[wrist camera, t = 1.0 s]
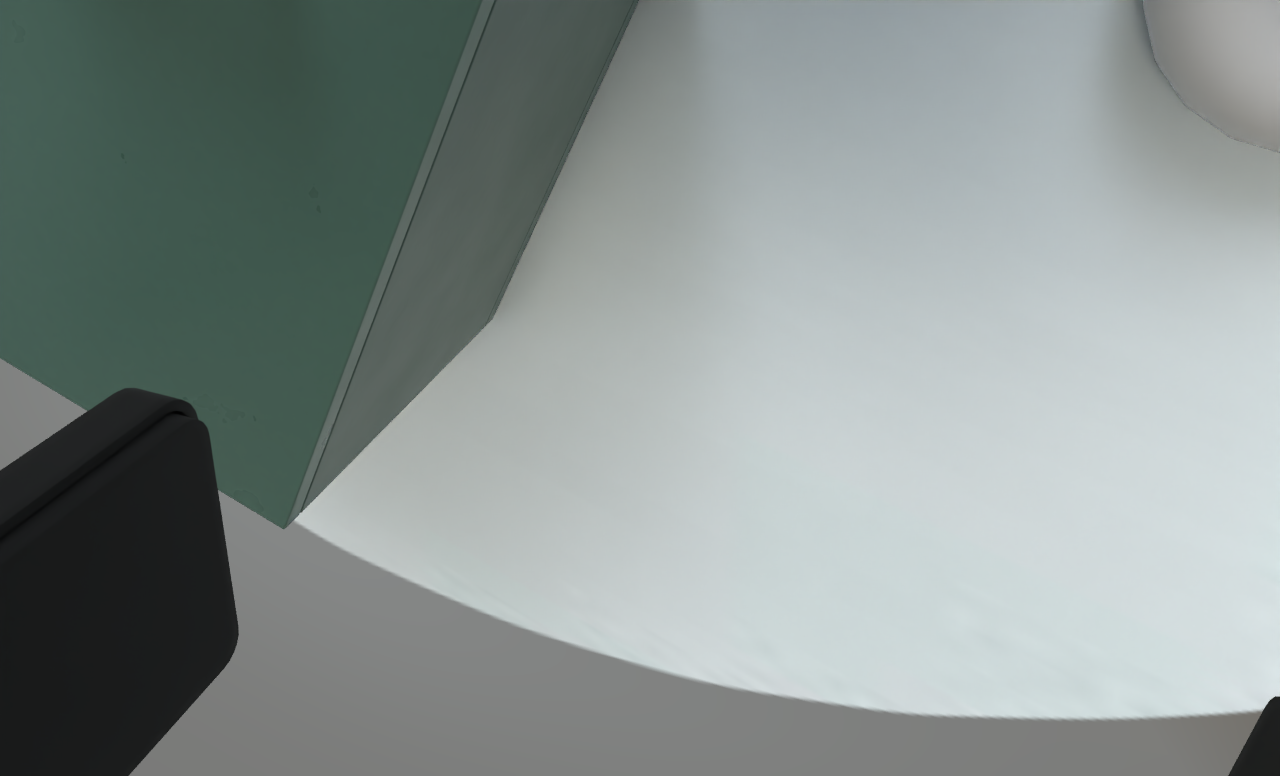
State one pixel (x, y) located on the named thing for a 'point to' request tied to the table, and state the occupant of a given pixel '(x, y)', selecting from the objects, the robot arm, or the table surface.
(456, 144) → the trash bin
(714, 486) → the table surface
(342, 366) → the bin lid
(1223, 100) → the donut
